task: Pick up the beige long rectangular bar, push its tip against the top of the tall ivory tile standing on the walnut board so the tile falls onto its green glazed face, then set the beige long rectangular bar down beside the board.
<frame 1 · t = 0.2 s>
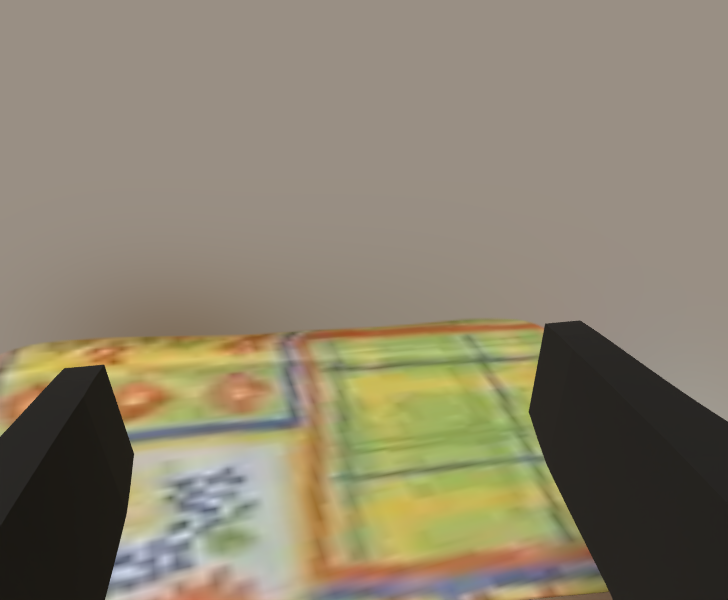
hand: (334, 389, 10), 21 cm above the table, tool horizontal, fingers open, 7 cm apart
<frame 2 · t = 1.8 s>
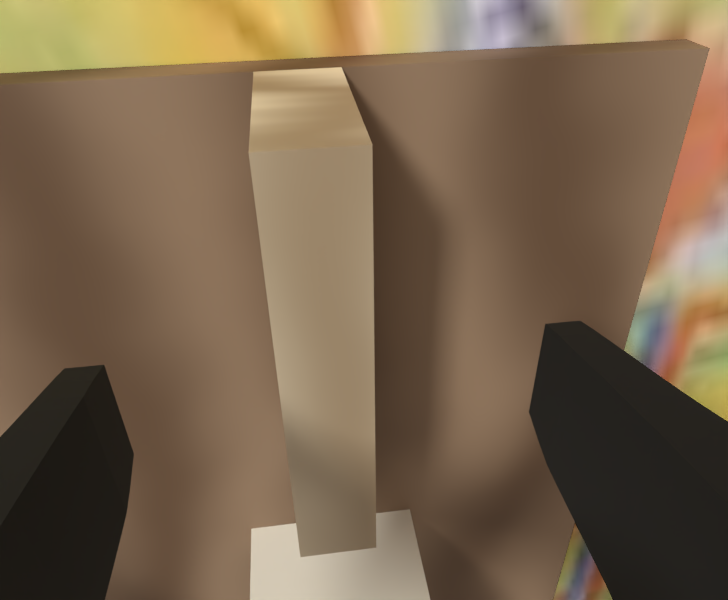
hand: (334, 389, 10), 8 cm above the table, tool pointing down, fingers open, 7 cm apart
tile: (332, 528, 24), point 1 cm above the table, touching board
board: (326, 455, 23), on the table
beige long rectangular bar: (313, 274, 17), point 1 cm above the table, touching board
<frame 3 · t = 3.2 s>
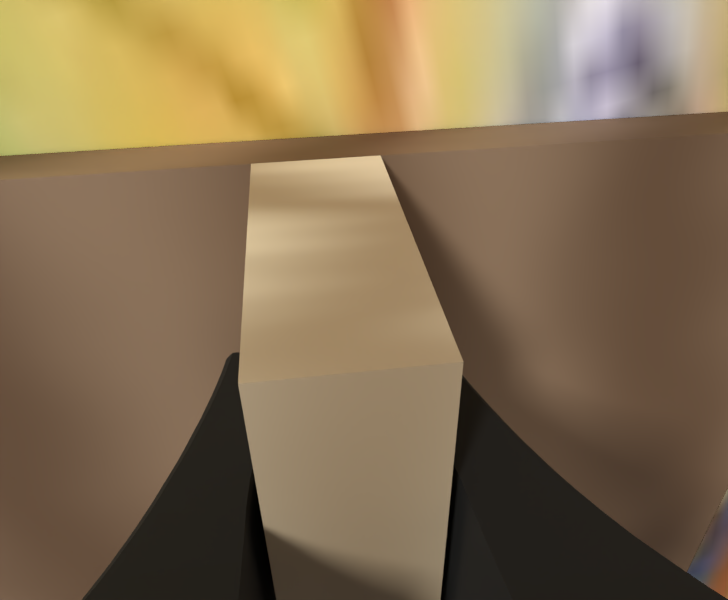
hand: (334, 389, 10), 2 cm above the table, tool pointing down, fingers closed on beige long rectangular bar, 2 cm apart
board: (343, 597, 18), on the table
beige long rectangular bar: (332, 415, 13), point 1 cm above the table, touching board, gripper
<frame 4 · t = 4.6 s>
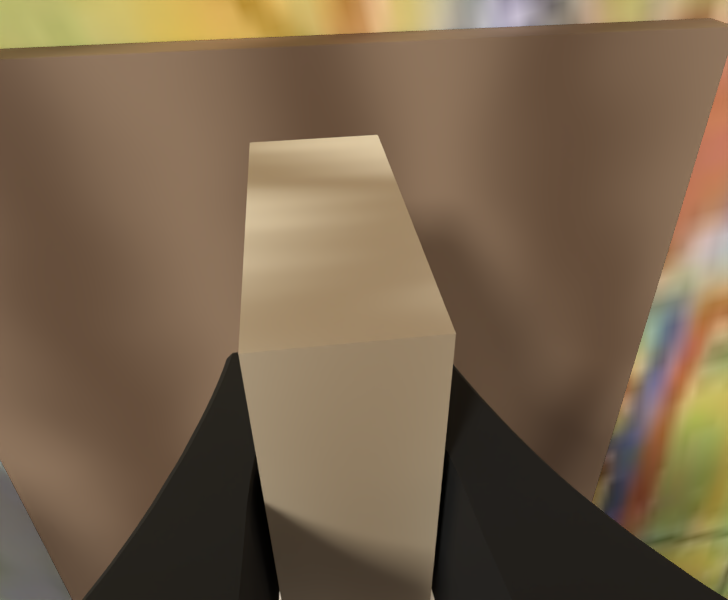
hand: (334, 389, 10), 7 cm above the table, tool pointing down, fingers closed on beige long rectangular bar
board: (328, 454, 22), on the table
beige long rectangular bar: (330, 392, 13), point 6 cm above the table, touching gripper
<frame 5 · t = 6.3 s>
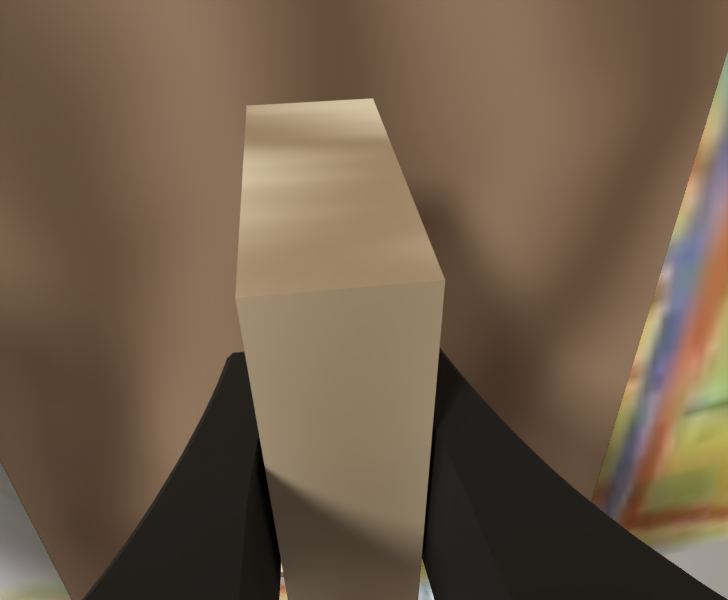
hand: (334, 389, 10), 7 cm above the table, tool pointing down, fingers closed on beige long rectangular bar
board: (313, 248, 17), on the table
beige long rectangular bar: (327, 357, 13), point 5 cm above the table, touching gripper
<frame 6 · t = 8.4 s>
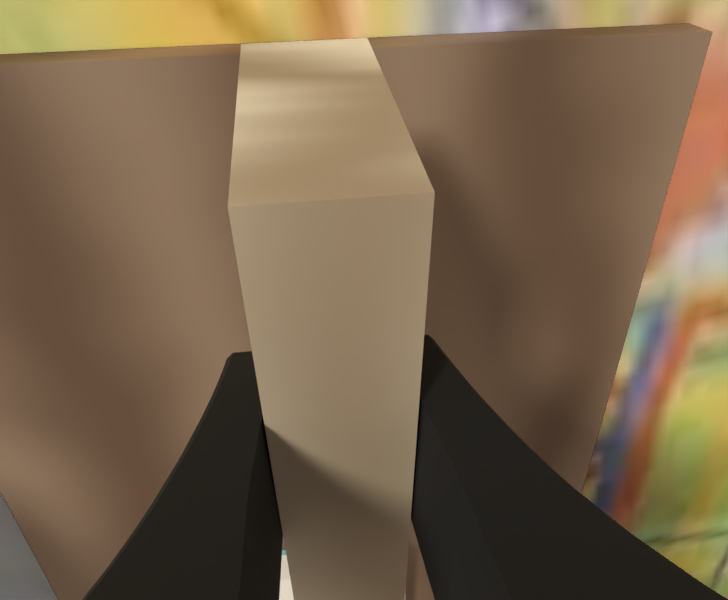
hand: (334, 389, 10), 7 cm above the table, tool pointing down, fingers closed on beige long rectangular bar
tile: (323, 559, 23), point 2 cm above the table, tilted 90°, touching board
board: (314, 457, 22), on the table
beige long rectangular bar: (322, 307, 13), point 4 cm above the table, touching gripper
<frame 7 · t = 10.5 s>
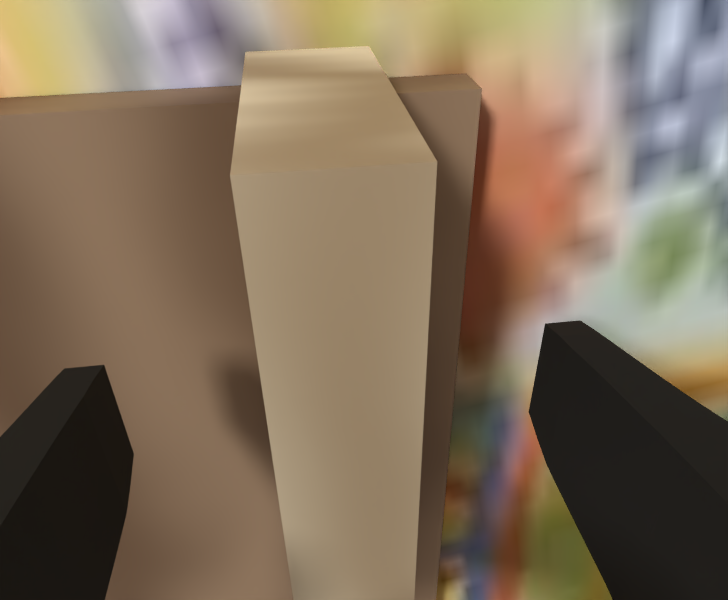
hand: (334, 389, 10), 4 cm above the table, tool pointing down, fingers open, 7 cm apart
board: (105, 571, 19), on the table
beige long rectangular bar: (325, 321, 13), point 1 cm above the table, touching board
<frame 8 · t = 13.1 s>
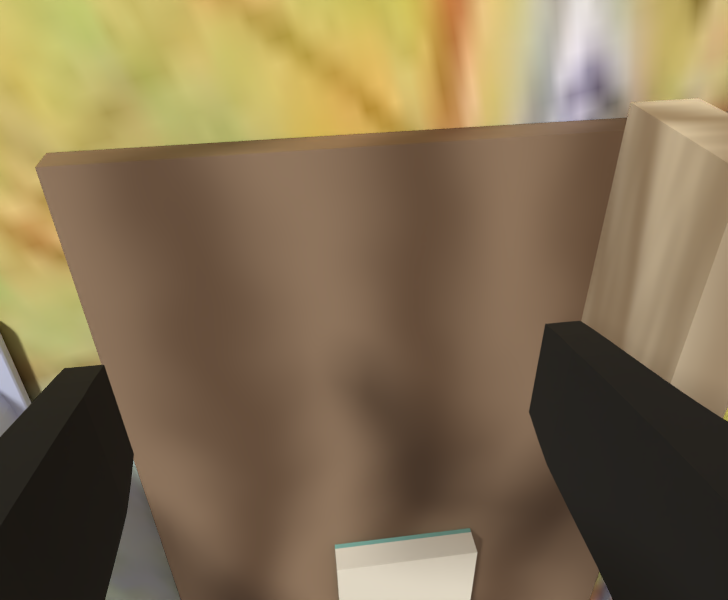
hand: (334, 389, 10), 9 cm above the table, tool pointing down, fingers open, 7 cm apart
tile: (405, 548, 27), point 2 cm above the table, tilted 90°, touching board
board: (400, 460, 26), on the table
beige long rectangular bar: (621, 268, 20), point 1 cm above the table, touching board
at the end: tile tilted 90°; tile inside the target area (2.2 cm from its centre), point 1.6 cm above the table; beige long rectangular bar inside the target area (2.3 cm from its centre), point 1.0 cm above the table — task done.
